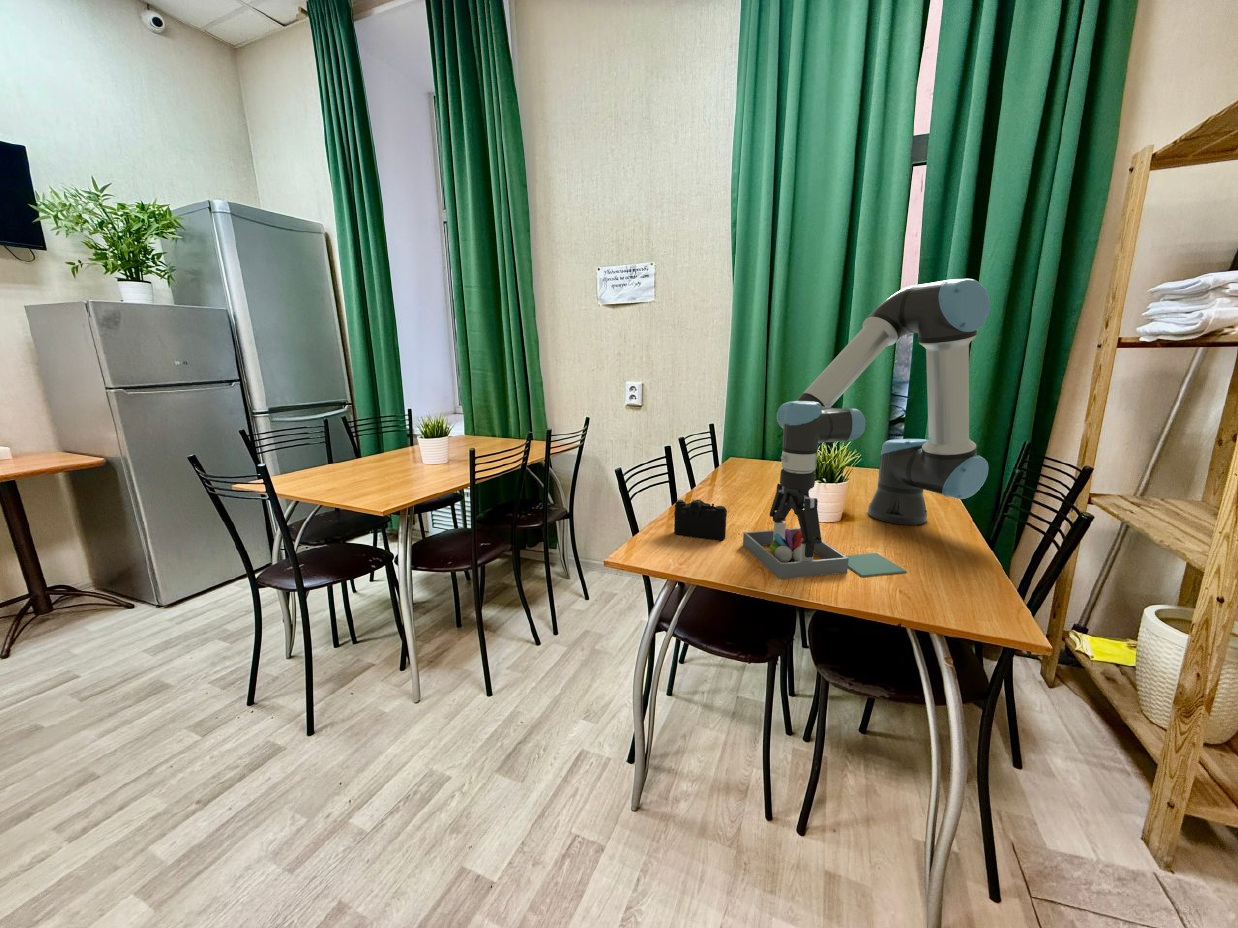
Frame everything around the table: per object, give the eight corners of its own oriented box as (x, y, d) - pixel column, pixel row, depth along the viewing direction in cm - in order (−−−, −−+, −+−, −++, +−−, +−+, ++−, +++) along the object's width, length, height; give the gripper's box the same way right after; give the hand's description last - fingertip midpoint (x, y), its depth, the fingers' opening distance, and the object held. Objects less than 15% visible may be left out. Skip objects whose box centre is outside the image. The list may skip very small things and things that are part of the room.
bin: (801, 540, 127) (802, 527, 126) (847, 572, 108) (848, 558, 108) (742, 545, 124) (743, 532, 123) (779, 579, 106) (780, 564, 105)
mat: (876, 554, 118) (876, 552, 118) (906, 572, 108) (906, 570, 108) (834, 558, 116) (834, 556, 116) (861, 576, 106) (862, 575, 106)
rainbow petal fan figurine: (814, 567, 112) (817, 537, 110) (770, 563, 114) (772, 534, 112) (808, 552, 120) (810, 524, 118) (767, 549, 122) (769, 522, 120)
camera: (731, 529, 135) (733, 495, 133) (723, 543, 126) (724, 506, 124) (683, 522, 141) (684, 489, 139) (671, 535, 132) (672, 500, 129)
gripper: (759, 458, 122) (754, 539, 127) (812, 484, 99) (803, 581, 104) (786, 457, 124) (780, 537, 128) (845, 482, 100) (835, 578, 105)
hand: (791, 557), depth 116 cm, fingers open, 12 cm apart
